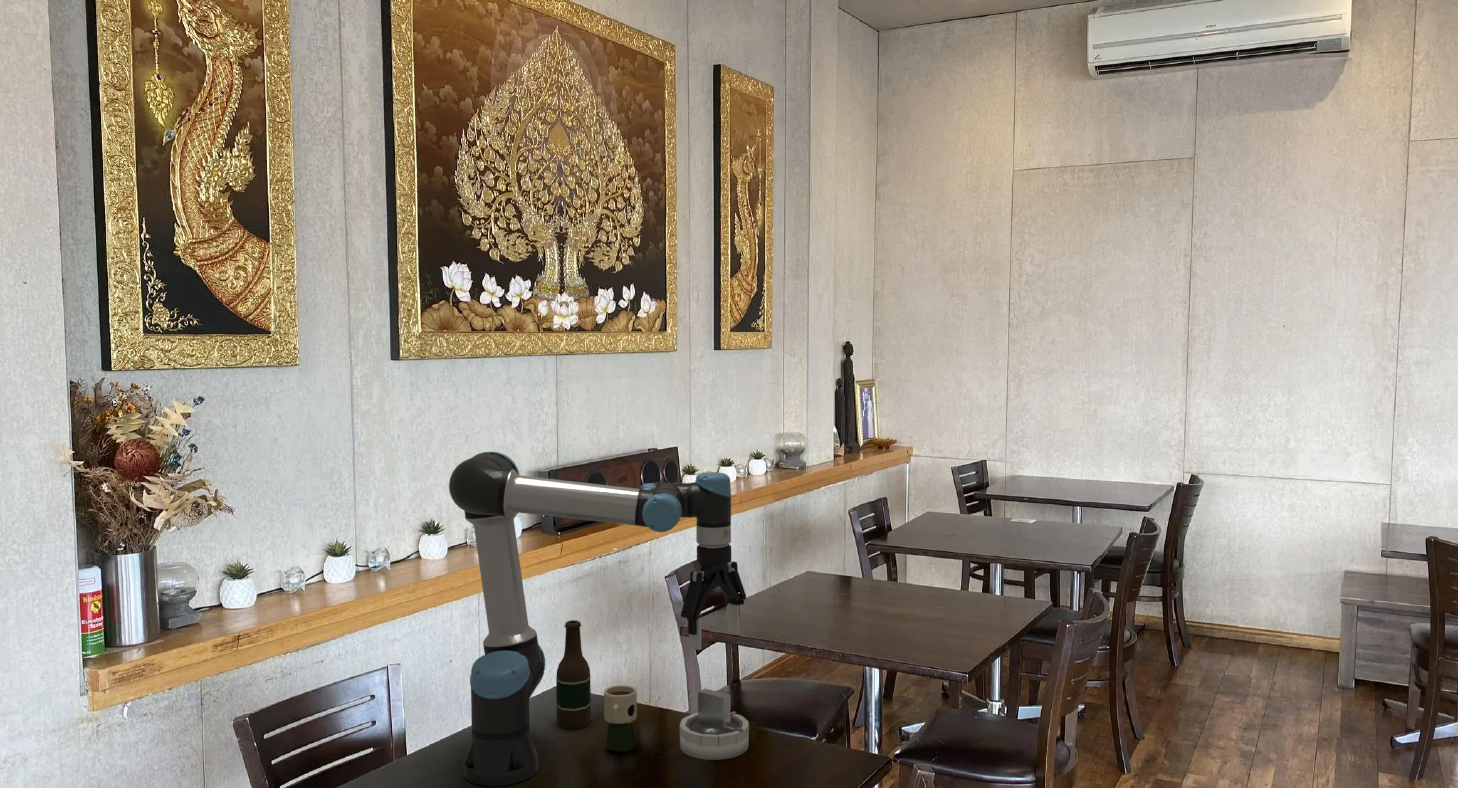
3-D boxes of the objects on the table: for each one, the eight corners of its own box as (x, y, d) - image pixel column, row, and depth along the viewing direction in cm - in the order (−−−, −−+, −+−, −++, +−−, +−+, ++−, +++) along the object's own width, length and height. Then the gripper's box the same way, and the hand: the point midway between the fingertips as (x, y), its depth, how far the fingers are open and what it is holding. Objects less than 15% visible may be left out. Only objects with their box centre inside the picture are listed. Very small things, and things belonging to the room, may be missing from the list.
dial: (678, 733, 225) (678, 694, 224) (709, 718, 234) (709, 681, 233) (719, 745, 218) (719, 705, 218) (749, 729, 227) (749, 691, 227)
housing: (665, 748, 225) (665, 724, 224) (708, 727, 237) (708, 704, 236) (721, 765, 216) (721, 740, 215) (762, 742, 228) (762, 718, 227)
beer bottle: (556, 718, 242) (555, 617, 241) (589, 716, 244) (589, 616, 242) (557, 731, 235) (556, 627, 233) (591, 728, 236) (590, 625, 235)
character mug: (631, 759, 219) (630, 699, 218) (598, 758, 220) (598, 698, 219) (642, 740, 230) (641, 682, 229) (610, 738, 230) (610, 681, 230)
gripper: (691, 556, 211) (692, 658, 213) (761, 536, 231) (761, 630, 233) (663, 552, 216) (664, 652, 217) (734, 533, 236) (735, 624, 237)
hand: (714, 641), depth 225 cm, fingers open, 13 cm apart
